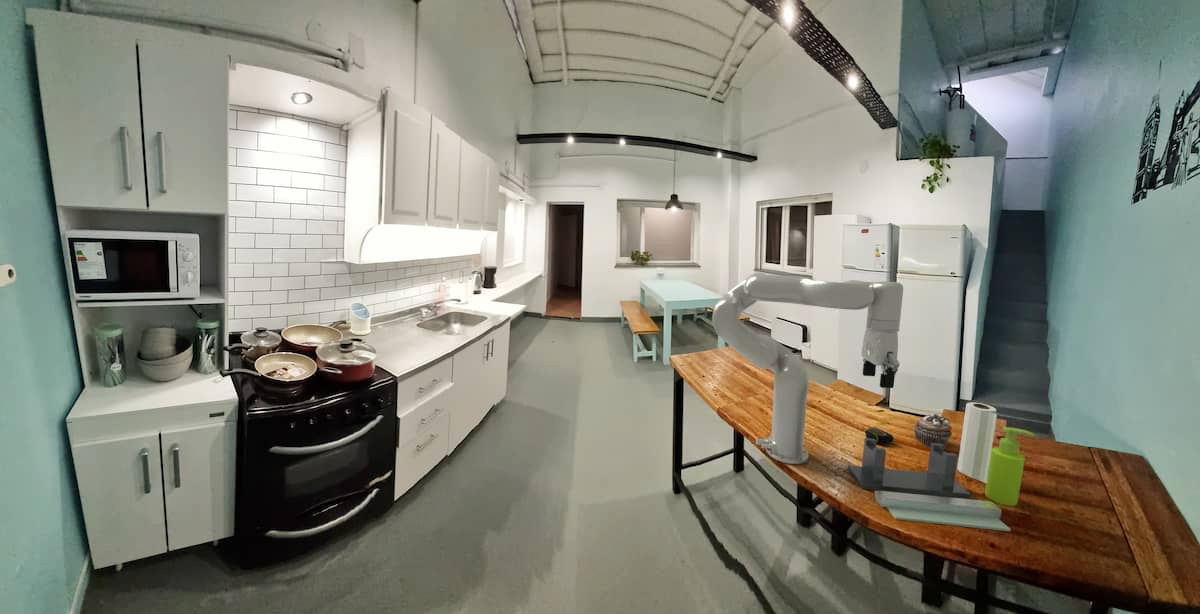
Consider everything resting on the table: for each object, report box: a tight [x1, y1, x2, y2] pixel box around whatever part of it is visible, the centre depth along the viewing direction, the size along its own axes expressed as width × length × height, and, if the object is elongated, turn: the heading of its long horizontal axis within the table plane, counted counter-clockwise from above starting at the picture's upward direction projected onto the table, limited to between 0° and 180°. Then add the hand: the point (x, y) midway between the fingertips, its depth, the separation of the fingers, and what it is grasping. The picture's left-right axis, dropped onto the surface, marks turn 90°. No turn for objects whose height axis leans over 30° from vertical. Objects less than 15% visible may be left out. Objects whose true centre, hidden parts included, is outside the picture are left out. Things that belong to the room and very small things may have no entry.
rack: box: [846, 437, 972, 499], centre depth 104 cm, size 26×9×12 cm, turn 78°
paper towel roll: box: [956, 401, 998, 484], centre depth 107 cm, size 7×6×21 cm
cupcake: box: [913, 413, 953, 449], centre depth 125 cm, size 10×10×10 cm
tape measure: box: [864, 426, 895, 445], centre depth 128 cm, size 7×7×4 cm
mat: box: [874, 490, 1012, 532], centre depth 94 cm, size 24×10×1 cm, turn 78°
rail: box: [874, 490, 1003, 520], centre depth 94 cm, size 26×3×2 cm, turn 78°
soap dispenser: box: [984, 426, 1036, 507], centre depth 96 cm, size 6×7×20 cm
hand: (877, 381), depth 108 cm, fingers open, 9 cm apart
